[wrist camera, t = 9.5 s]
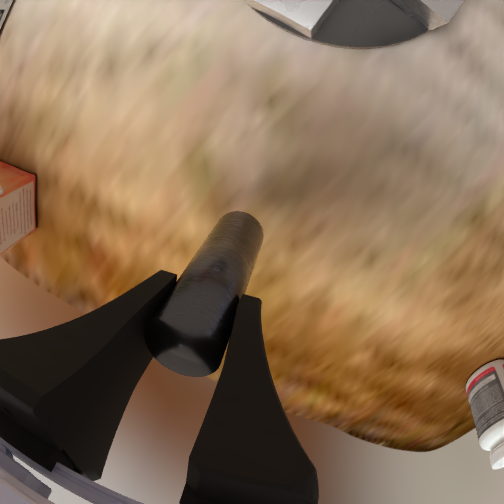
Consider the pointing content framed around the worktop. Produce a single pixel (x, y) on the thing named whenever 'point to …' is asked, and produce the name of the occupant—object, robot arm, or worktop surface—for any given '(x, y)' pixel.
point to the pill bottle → (489, 408)
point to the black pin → (206, 299)
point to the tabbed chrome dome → (322, 3)
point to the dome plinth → (361, 25)
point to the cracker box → (16, 206)
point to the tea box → (4, 9)
